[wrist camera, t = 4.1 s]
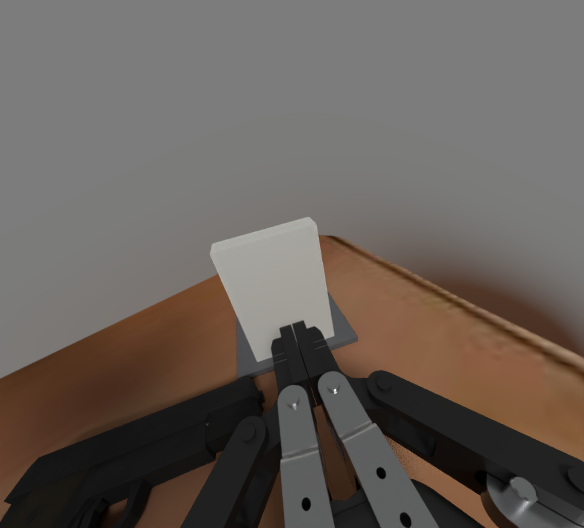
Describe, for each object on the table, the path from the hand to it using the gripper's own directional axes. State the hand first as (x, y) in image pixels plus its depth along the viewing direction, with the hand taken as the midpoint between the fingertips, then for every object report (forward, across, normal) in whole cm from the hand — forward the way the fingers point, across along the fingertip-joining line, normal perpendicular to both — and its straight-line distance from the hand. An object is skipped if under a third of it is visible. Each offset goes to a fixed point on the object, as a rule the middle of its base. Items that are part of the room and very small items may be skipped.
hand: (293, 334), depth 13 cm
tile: (+7, 0, +8) cm, 10 cm away
